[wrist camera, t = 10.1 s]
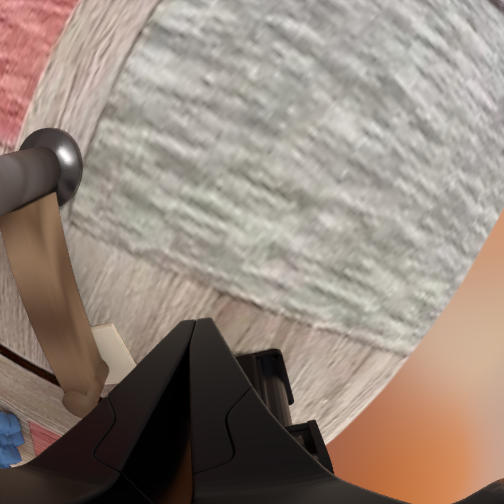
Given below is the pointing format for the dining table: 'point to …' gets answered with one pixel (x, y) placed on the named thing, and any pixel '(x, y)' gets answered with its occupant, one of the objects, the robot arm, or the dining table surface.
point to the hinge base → (60, 159)
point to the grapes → (9, 440)
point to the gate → (48, 275)
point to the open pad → (113, 352)
